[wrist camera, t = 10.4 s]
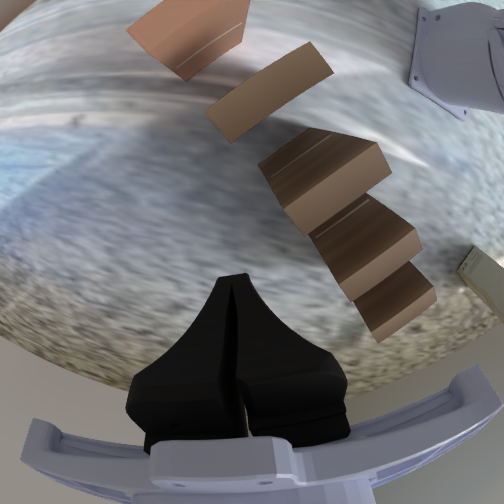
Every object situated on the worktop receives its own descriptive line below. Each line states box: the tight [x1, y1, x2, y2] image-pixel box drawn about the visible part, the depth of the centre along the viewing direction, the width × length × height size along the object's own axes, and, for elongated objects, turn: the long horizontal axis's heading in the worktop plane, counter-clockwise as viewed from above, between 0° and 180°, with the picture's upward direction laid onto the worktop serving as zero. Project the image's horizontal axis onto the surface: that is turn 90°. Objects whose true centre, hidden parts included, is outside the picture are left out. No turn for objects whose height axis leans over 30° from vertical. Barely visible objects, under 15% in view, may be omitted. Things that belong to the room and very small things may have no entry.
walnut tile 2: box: [308, 192, 423, 302], centre depth 17 cm, size 2×5×10 cm, turn 128°
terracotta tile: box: [126, 0, 250, 81], centre depth 11 cm, size 2×5×10 cm, turn 128°
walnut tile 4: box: [204, 42, 334, 143], centre depth 13 cm, size 2×5×10 cm, turn 128°
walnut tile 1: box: [353, 261, 437, 343], centre depth 19 cm, size 2×5×10 cm, turn 128°
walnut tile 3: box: [258, 128, 392, 236], centre depth 15 cm, size 2×5×10 cm, turn 128°
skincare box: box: [457, 246, 504, 323], centre depth 22 cm, size 6×4×12 cm
